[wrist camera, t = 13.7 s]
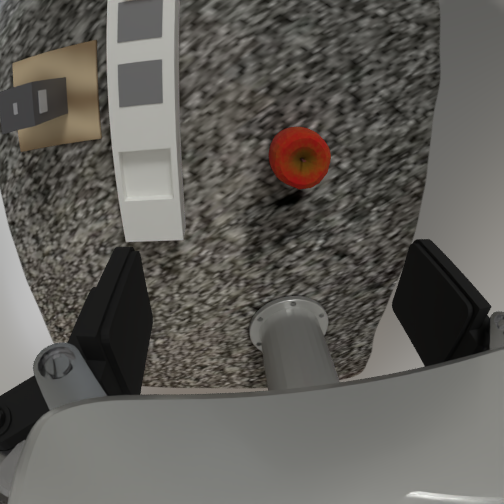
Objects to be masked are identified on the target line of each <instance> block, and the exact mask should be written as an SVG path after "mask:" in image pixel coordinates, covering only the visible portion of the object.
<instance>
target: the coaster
mask: <svg viewBox="0 0 504 504" xmlns="http://www.w3.org/2000/svg"><path fill="white" fill-rule="evenodd" d="M63 77H66V87H67V102H68V114H65V115H62V116H59V117H57V118H54V119H52V120H49V121H46V122H44V123H41V124H39V125H37V126H33V127H29V128H25V129H21V130H18V135H19V142H20V149H21V152H23V151H28V150H33V149H38V148H44V147H49V146H55V145H61V144H67V143H73V142H80V141H87V140H94V139H101V138H102V134H101V123H100V111H99V96H98V74H97V40H94V41H89V42H84V43H80V44H76V45H72V46H68V47H64V48H60V49H56V50H53V51H49V52H46V53H43V54H39V55H36V56H33V57H30V58H27V59H24V60H21V61H18V62H15V63H13V84H14V87H16V86H20V85H23V84H26V83H29V82H34V81H40V80H47V79H55V78H63Z"/></svg>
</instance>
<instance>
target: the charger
mask: <svg viewBox="0 0 504 504" xmlns="http://www.w3.org/2000/svg"><path fill="white" fill-rule="evenodd" d="M65 114H68V102H67V87H66V77H63V78H55V79H47V80H40V81H34V82H29V83H26V84H23V85H20V86H16V87H13V88H10V89H7V90H4V91H1V92H0V119H1V127H2V134H5V133H9V132H13V131H16V130H21V129H25V128H29V127H33V126H37V125H39V124H41V123H44V122H46V121H49V120H52V119H54V118H57V117H59V116H62V115H65Z"/></svg>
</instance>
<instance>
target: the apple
mask: <svg viewBox="0 0 504 504" xmlns="http://www.w3.org/2000/svg"><path fill="white" fill-rule="evenodd" d="M330 160H331V155H330V150H329V147H328V145H327V144H326V142H325V141H324V140H323V139H322V138H321V137H320V136H319V135H318V134H317V133H316V132H314V131H312V130H310V129H307V128H303V127H290V128H287V129H284V130H282V131H280V132H279V133H278V134H277V135H276V136H275V137H274V139H273V141H272V143H271V146H270V150H269V162H270V165H271V168H272V170H273V172H274V173H275V175H276V177H277V178H278V179H279V180H281V181H282V182H284V183H285V184H287V185H290V186H292V187H295V188H297V189H306V188H311V187H313V186H315V185H316V184H318V183H320V181H321V180H322V179H323V178H324V176H325V175H326V174H327V172H328V168H329V164H330Z"/></svg>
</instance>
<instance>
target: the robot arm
mask: <svg viewBox="0 0 504 504" xmlns="http://www.w3.org/2000/svg"><path fill="white" fill-rule="evenodd" d="M392 308H393V311H394V313H395V315H396V316H397V318H398V320H399V321H400V323H401V325H402V326H403V328H404V330H405V332H406V333H407V335H408V337H409V338H410V340H411V342H412V344H413V345H414V347H415V349H416V351H417V353H418V354H419V356H420V358H421V360H422V362H423V363H424V365H425V367H421V368H417V369H412V370H408V371H403V372H398V373H393V374H388V375H382V376H377V377H371V378H366V379H360V380H353V381H347V382H339V379H338V376H337V373H336V370H335V367H334V364H333V361H332V358H331V355H330V352H329V349H328V346H327V343H326V341H325V338H324V335H325V333H326V331H327V328H328V316H327V314H326V311H325V309H324V308H323V306H322V305H321V304H320V303H318V302H317V301H315V300H313V299H311V298H308V297H303V296H288V297H282V298H279V299H276V300H273V301H271V302H269V303H267V304H266V305H264V306H263V307H261V308H260V309H259V310H258V311H257V312H256V313H255V315H254V316H253V318H252V320H251V322H250V327H249V332H250V338H251V341H252V343H253V344H254V345H255V346H256V348H257V349H259V350H261V351H262V352H263V359H264V365H265V372H266V378H267V385H268V391H257V392H241V393H220V394H219V393H217V394H184V395H183V394H180V395H159V394H158V395H157V394H154V395H140V393H141V386H142V380H143V374H144V368H145V362H146V357H147V351H148V346H149V340H150V335H151V330H152V324H153V316H152V311H151V306H150V302H149V297H148V292H147V287H146V282H145V277H144V272H143V267H142V262H141V256H140V253H139V251H134V248H133V247H116V248H115V249H114V251H113V253H112V255H111V257H110V259H109V261H108V263H107V265H106V268H105V270H104V272H103V274H102V276H101V278H100V280H99V282H98V285H97V287H93V288H92V289H91V291H90V293H89V295H88V297H87V299H86V301H85V303H84V306H83V308H82V310H81V312H80V315H79V317H78V319H77V322H76V324H75V326H74V329H73V331H72V334H71V336H70V338H69V341H68V343H55V344H52V345H50V346H48V347H47V348H45V349H43V350H42V351H41V352H40V353H39V354H38V355H37V357H36V359H35V361H34V365H33V371H34V376H33V377H31V378H29V379H28V380H26V381H24V382H23V383H21V384H19V385H18V386H16V387H14V388H13V389H11V390H9V391H8V392H6V393H4V394H3V395H1V396H0V504H504V312H494V313H493V314H492V315H491V317H490V318H489V317H488V315H487V314H488V312H489V310H490V308H491V305H490V304H489V303H488V302H487V301H486V300H485V298H484V297H483V296H482V295H481V294H480V293H479V291H478V290H477V289H476V288H475V287H474V286H473V285H472V283H471V282H470V281H469V280H468V279H467V278H466V277H465V276H464V274H463V273H461V271H460V270H459V269H458V268H457V267H456V266H455V265H454V264H453V262H452V261H451V260H450V259H449V258H448V257H447V256H446V255H445V254H444V253H443V252H442V251H441V250H440V249H439V248H438V247H437V246H436V245H435V244H434V243H433V242H432V241H431V240H429V239H424V240H423V239H419V240H415V241H414V242H413V244H411V245H410V247H409V250H408V253H407V257H406V260H405V264H404V267H403V270H402V274H401V277H400V280H399V283H398V286H397V289H396V292H395V296H394V298H393V302H392Z"/></svg>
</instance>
